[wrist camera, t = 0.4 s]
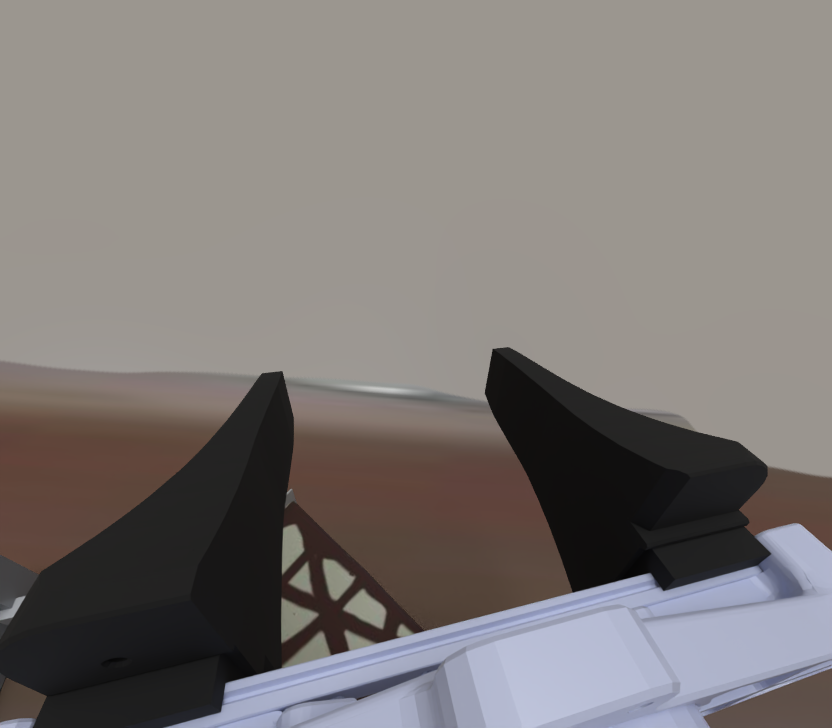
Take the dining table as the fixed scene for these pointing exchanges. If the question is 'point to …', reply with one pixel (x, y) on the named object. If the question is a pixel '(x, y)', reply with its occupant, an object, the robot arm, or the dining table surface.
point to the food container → (330, 596)
